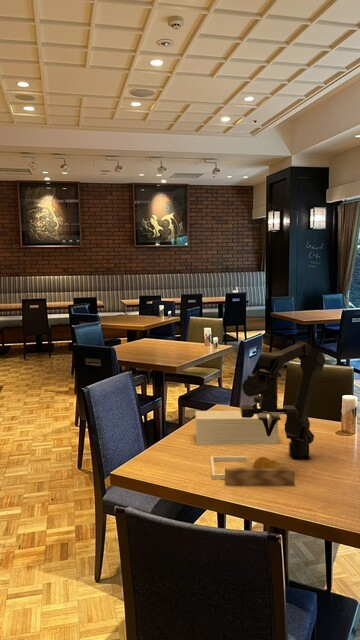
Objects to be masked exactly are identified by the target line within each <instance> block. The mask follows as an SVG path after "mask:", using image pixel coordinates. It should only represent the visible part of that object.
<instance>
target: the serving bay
mask: <svg viewBox="0 0 360 640" xmlns="http://www.w3.org/2000/svg"><path fill="white" fill-rule="evenodd" d="M209 459H210V461H209V462H210V471H211V479H212V480H225V473H216V472H215V471H216V470H215V462H248V457H247V455H245V456H244V455H237V456H236V455H210V458H209Z"/></svg>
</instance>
